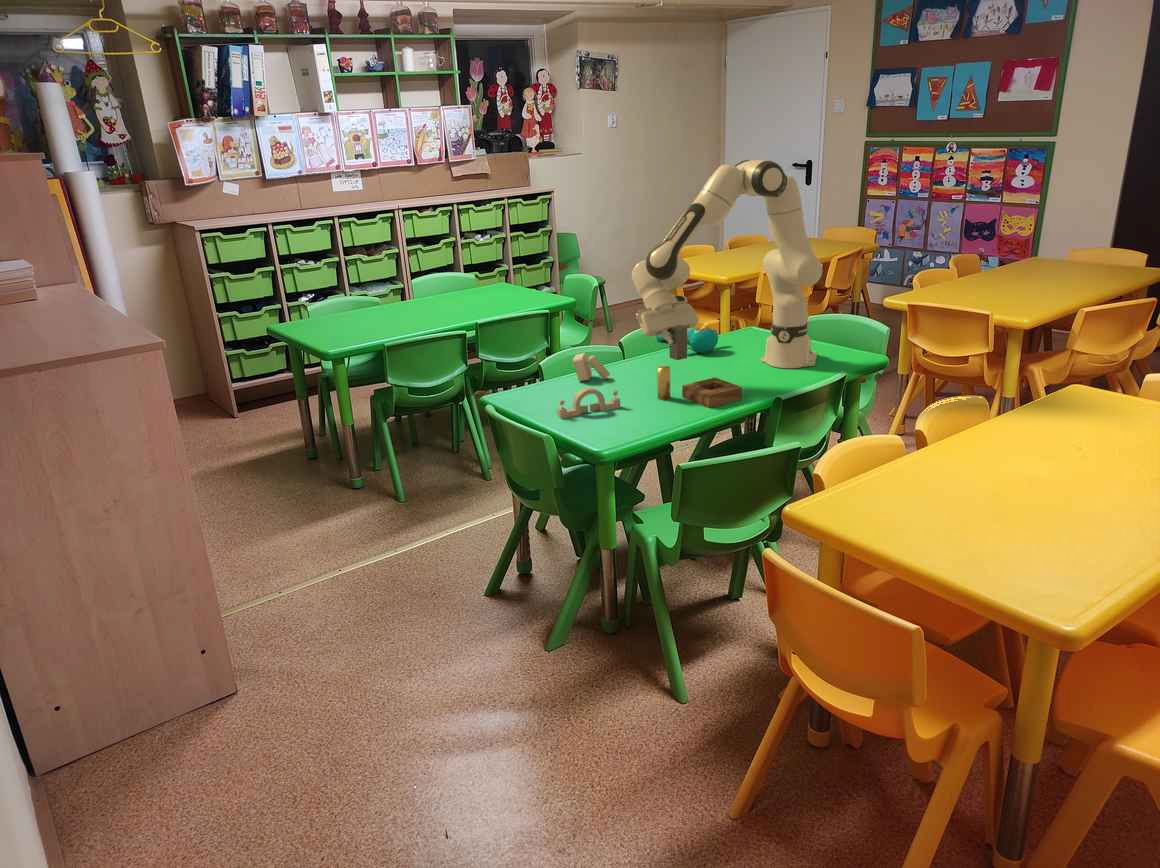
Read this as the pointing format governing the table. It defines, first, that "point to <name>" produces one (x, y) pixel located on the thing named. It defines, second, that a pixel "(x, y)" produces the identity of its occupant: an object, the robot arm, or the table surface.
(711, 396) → the walnut bore block
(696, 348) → the toy
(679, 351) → the steel square bit
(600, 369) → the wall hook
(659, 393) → the cylinder
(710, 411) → the table surface
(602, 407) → the gateway
